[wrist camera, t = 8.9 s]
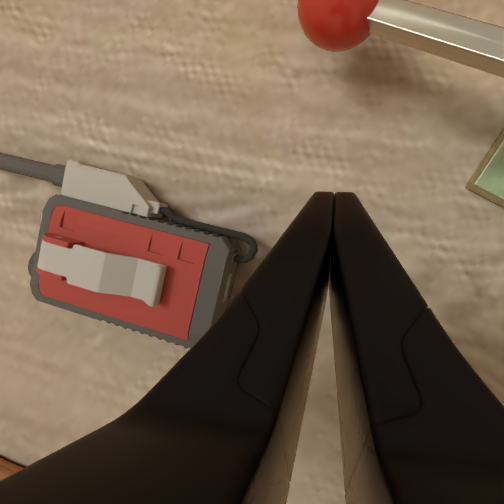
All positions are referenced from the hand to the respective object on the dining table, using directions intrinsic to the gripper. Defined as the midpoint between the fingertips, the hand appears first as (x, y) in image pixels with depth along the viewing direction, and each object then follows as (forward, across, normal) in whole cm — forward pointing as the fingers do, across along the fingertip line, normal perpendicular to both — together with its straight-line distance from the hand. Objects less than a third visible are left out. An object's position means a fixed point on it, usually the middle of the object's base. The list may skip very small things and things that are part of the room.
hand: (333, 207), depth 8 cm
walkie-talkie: (+8, +14, +10) cm, 19 cm away
